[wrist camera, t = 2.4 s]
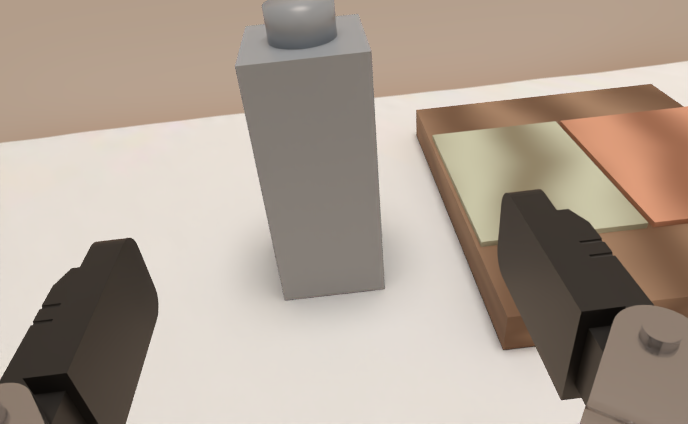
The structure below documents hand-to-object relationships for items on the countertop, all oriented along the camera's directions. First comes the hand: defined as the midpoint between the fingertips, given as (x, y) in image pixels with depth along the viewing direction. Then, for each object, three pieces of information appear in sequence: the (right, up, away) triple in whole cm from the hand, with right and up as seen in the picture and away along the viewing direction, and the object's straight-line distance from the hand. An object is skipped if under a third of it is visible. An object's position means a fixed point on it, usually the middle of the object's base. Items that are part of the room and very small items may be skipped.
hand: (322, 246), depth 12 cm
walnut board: (+15, +2, +19) cm, 24 cm away
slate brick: (0, -2, +17) cm, 17 cm away
